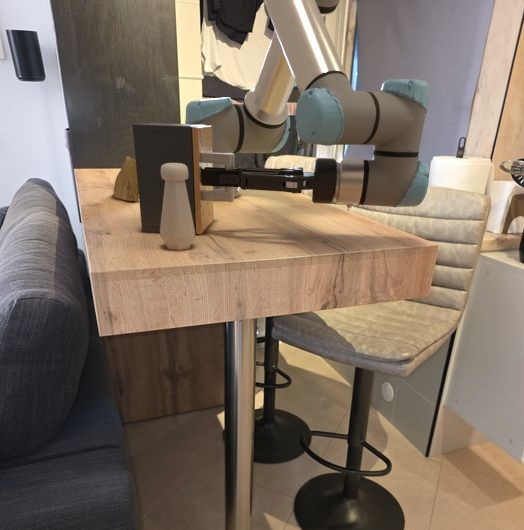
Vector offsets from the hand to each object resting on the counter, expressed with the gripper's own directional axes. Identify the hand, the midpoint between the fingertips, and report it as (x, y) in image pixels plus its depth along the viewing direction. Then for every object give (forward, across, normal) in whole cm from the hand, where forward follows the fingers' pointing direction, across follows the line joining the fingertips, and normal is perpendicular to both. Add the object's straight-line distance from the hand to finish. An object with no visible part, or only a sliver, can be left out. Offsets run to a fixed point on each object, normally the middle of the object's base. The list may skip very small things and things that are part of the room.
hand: (203, 176), depth 81 cm
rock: (+26, +31, -10) cm, 42 cm away
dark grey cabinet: (+7, +4, -10) cm, 13 cm away
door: (-2, +4, -10) cm, 11 cm away
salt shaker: (+3, -11, -10) cm, 15 cm away
